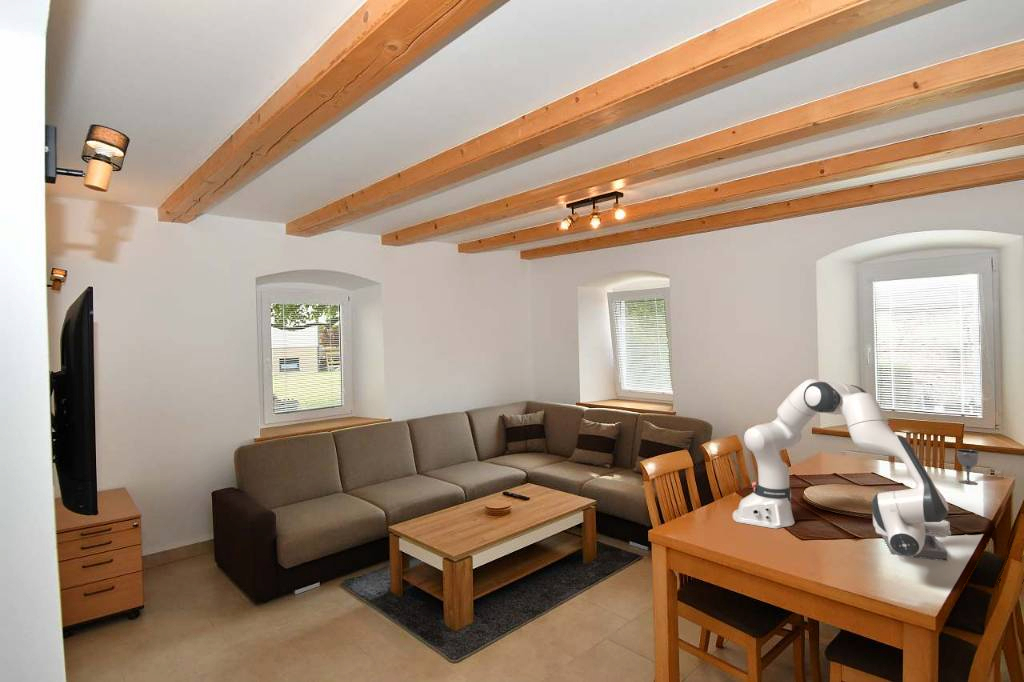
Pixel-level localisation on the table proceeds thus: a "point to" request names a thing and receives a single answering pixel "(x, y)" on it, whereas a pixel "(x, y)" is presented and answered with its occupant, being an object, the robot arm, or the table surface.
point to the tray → (926, 549)
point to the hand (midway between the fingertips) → (911, 516)
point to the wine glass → (968, 462)
